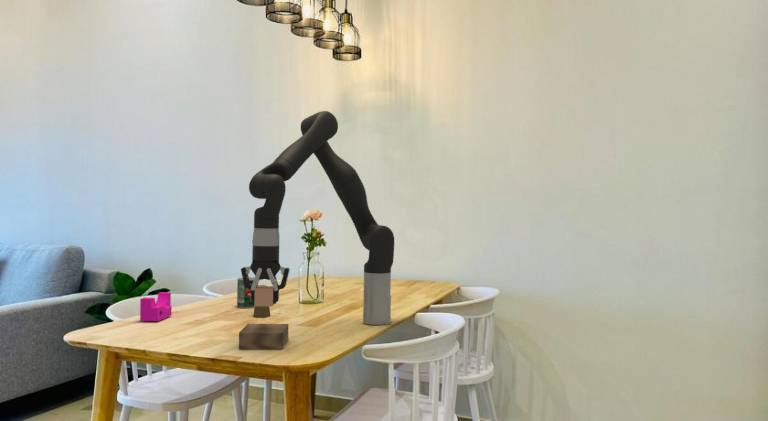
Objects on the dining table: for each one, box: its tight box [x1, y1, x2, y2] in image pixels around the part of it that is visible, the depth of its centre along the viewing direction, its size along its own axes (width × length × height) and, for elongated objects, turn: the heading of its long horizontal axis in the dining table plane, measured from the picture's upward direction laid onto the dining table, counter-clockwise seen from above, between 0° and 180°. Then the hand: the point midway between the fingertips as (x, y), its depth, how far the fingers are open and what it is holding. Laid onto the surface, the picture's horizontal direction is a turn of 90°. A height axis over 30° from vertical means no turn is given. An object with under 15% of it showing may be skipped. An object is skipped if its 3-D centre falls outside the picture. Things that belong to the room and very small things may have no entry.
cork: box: [252, 284, 271, 318], centre depth 201 cm, size 6×6×11 cm
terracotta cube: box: [254, 285, 275, 307], centre depth 159 cm, size 5×5×5 cm
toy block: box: [139, 291, 173, 322], centre depth 197 cm, size 15×6×8 cm, turn 176°
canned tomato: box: [236, 277, 259, 309], centre depth 219 cm, size 8×8×11 cm
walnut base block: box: [238, 323, 289, 351], centre depth 159 cm, size 12×12×5 cm
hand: (264, 303), depth 159 cm, fingers closed on terracotta cube, 5 cm apart
